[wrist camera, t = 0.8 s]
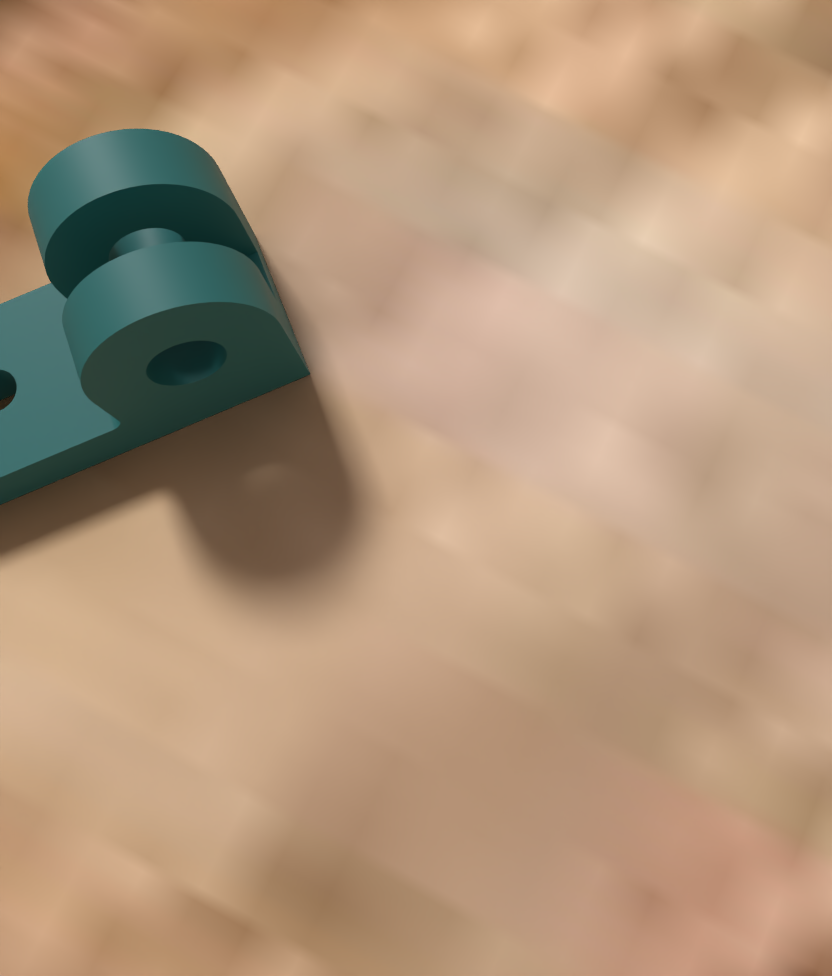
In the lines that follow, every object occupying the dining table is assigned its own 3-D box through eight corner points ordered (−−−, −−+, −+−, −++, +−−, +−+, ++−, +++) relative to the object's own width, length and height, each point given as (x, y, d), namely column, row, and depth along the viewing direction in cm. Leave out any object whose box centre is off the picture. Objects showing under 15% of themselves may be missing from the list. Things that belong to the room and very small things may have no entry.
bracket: (255, 236, 32) (181, 98, 25) (311, 376, 31) (249, 273, 23) (-149, 406, 32) (-347, 319, 25) (-117, 556, 31) (-320, 512, 23)
